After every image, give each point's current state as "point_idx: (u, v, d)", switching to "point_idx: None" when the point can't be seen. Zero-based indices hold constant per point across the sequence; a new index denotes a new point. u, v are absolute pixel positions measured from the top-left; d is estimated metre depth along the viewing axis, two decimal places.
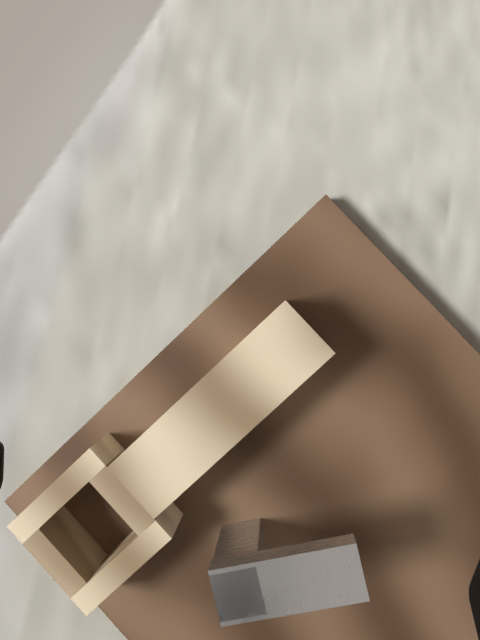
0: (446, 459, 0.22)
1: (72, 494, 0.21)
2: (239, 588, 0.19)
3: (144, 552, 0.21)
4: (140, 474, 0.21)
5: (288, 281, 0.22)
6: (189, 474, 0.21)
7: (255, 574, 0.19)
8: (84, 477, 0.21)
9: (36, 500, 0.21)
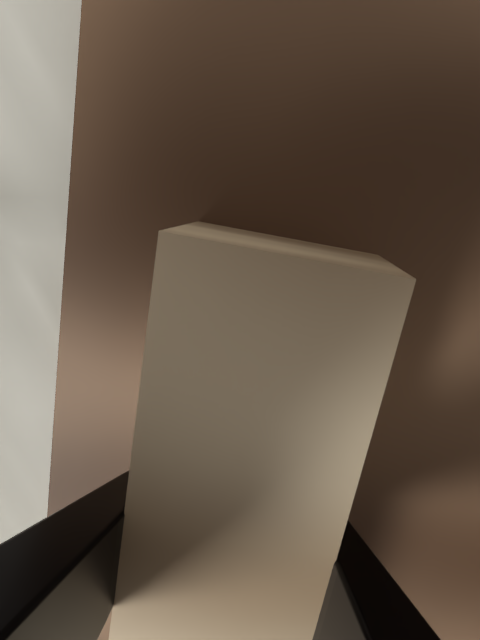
0: None
1: None
2: None
3: None
4: None
5: (173, 169, 0.08)
6: None
7: None
8: None
9: None
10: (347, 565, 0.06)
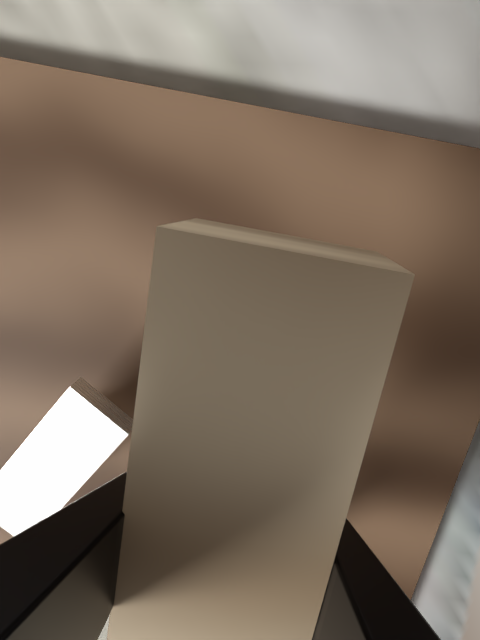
0: None
1: None
2: (10, 502, 0.16)
3: None
4: None
5: None
6: None
7: (12, 480, 0.15)
8: None
9: None
10: (347, 565, 0.06)
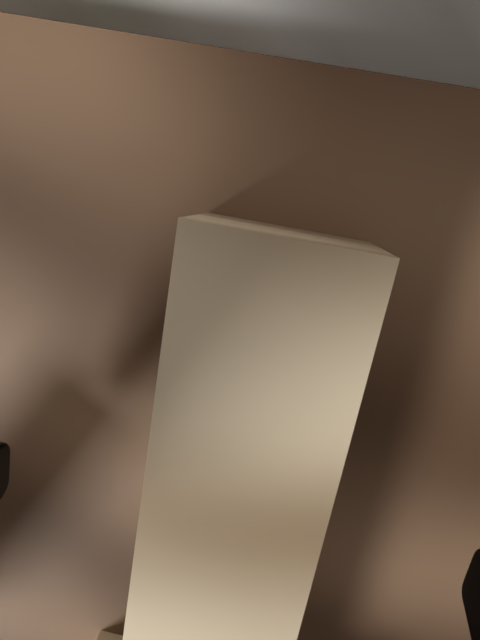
0: (11, 259, 0.10)
1: None
2: None
3: None
4: None
5: None
6: None
7: None
8: None
9: None
10: None
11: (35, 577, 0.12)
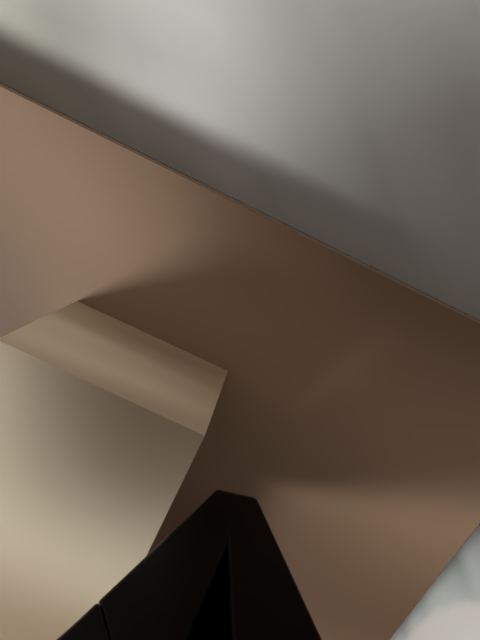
0: None
1: None
2: None
3: None
4: None
5: None
6: None
7: None
8: None
9: None
10: (237, 540, 0.07)
11: None
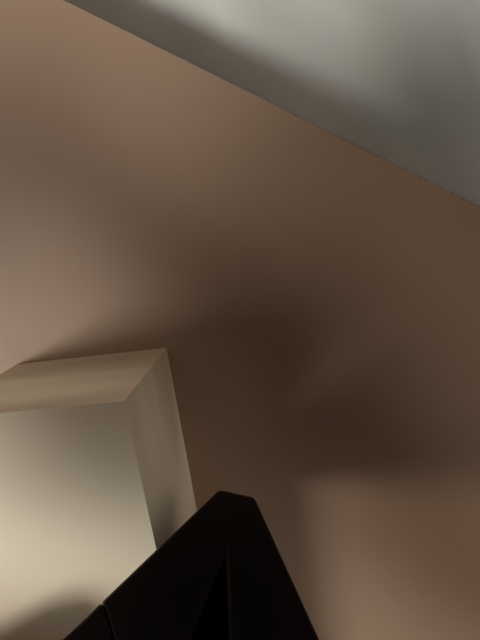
0: (234, 366, 0.09)
1: None
2: None
3: None
4: None
5: None
6: None
7: None
8: None
9: None
10: (235, 539, 0.07)
11: None
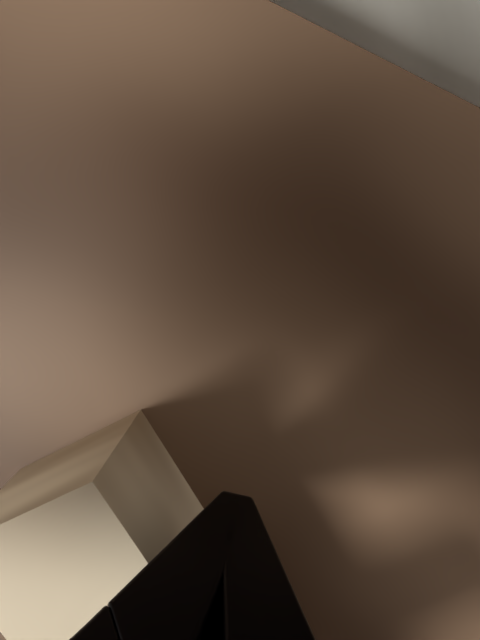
0: (477, 410, 0.09)
1: None
2: None
3: None
4: None
5: None
6: None
7: None
8: None
9: None
10: (232, 539, 0.07)
11: None
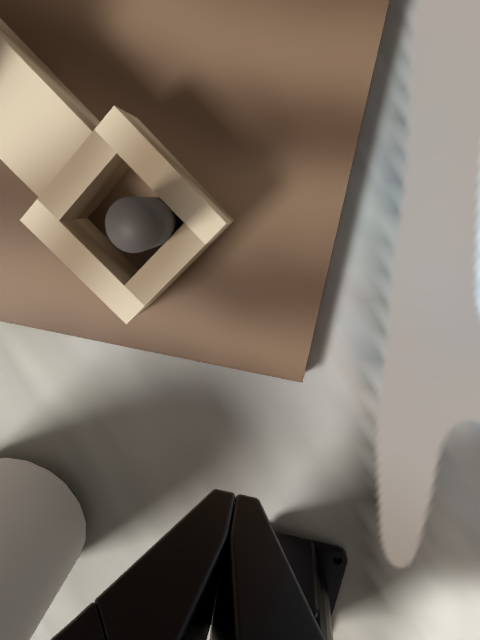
0: None
1: (76, 241, 0.17)
2: None
3: (136, 143, 0.16)
4: (40, 151, 0.16)
5: None
6: (29, 83, 0.16)
7: None
8: (55, 226, 0.17)
9: (91, 287, 0.18)
10: (240, 541, 0.07)
11: None
